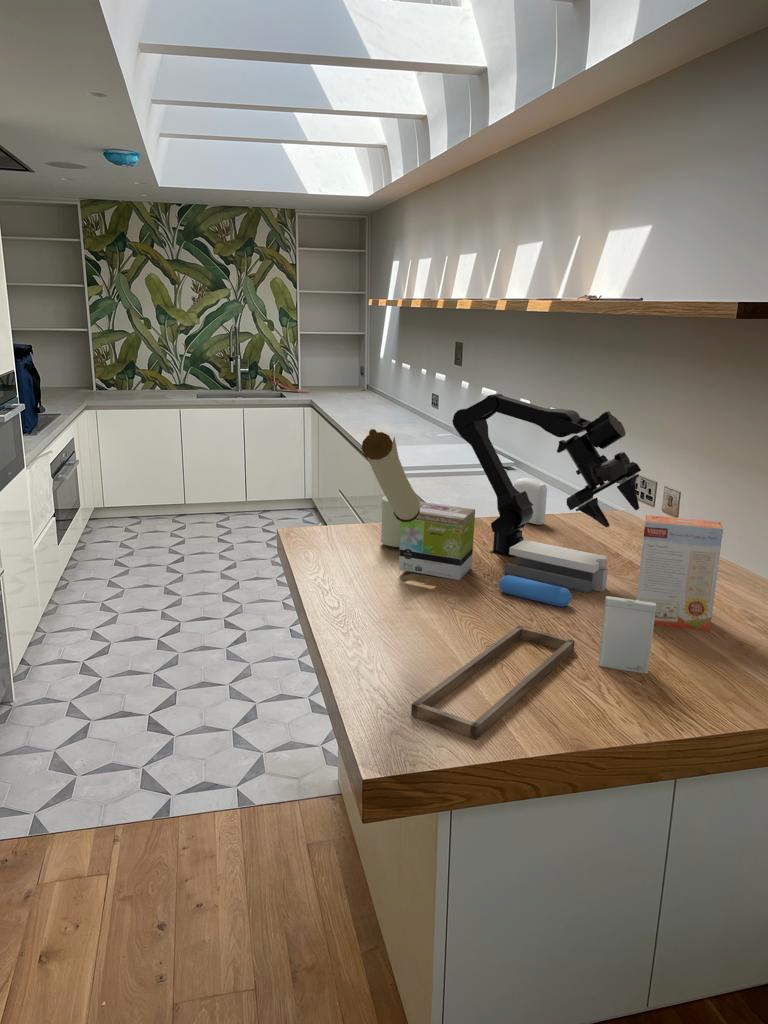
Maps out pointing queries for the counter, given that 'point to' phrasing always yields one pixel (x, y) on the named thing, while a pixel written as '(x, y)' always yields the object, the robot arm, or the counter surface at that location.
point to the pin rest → (460, 725)
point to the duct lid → (559, 556)
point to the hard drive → (627, 634)
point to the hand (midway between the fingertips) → (623, 518)
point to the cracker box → (680, 569)
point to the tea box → (438, 541)
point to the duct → (558, 575)
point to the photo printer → (534, 497)
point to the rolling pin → (391, 475)
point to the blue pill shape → (535, 590)
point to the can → (389, 525)
